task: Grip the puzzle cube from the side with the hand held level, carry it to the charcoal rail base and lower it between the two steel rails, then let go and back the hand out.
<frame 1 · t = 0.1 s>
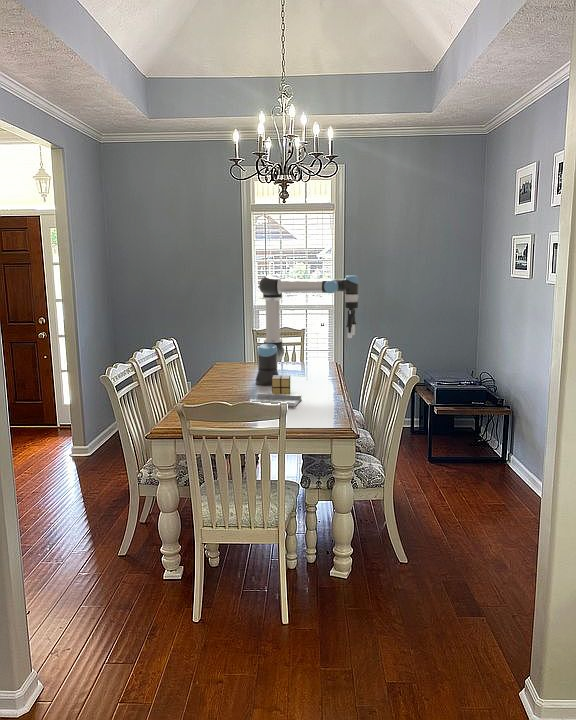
hand: (351, 336, 361), 28 cm above the table, tool pointing down, fingers open, 13 cm apart
rail base: (275, 402, 315), on the table
puzzle cube: (281, 394, 335), on the table
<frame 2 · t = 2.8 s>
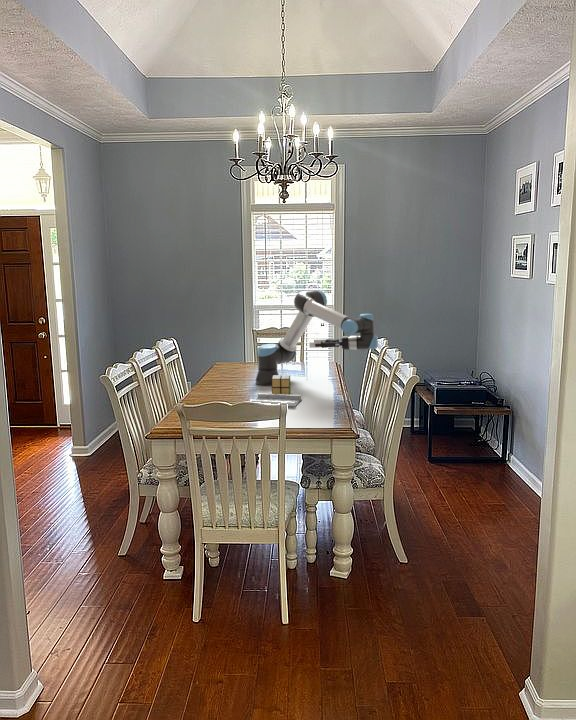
hand: (311, 343, 334), 28 cm above the table, tool horizontal, fingers open, 13 cm apart
nothing on the table moved.
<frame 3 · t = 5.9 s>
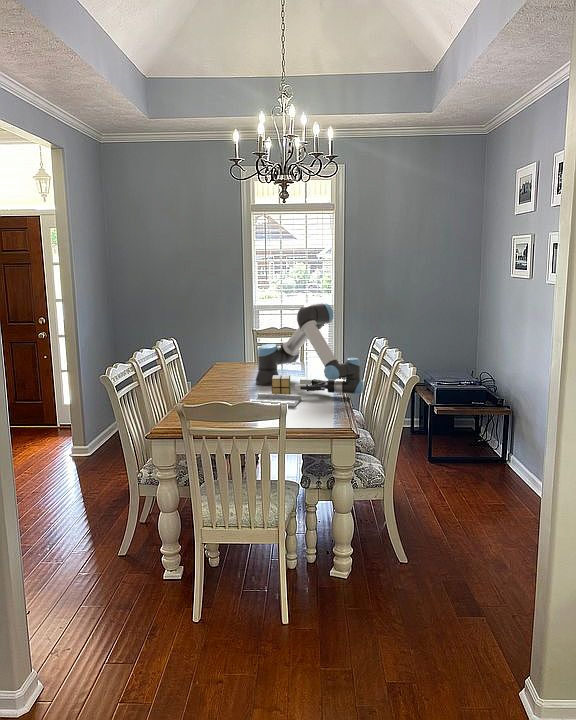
hand: (297, 384, 332), 6 cm above the table, tool horizontal, fingers open, 13 cm apart
nothing on the table moved.
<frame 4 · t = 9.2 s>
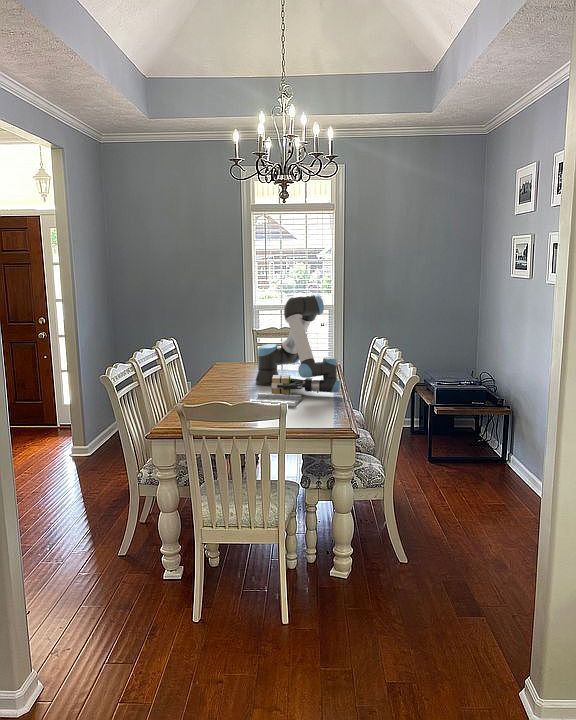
hand: (274, 383, 335), 6 cm above the table, tool horizontal, fingers closed on puzzle cube, 11 cm apart
puzzle cube: (281, 394, 335), on the table, touching gripper
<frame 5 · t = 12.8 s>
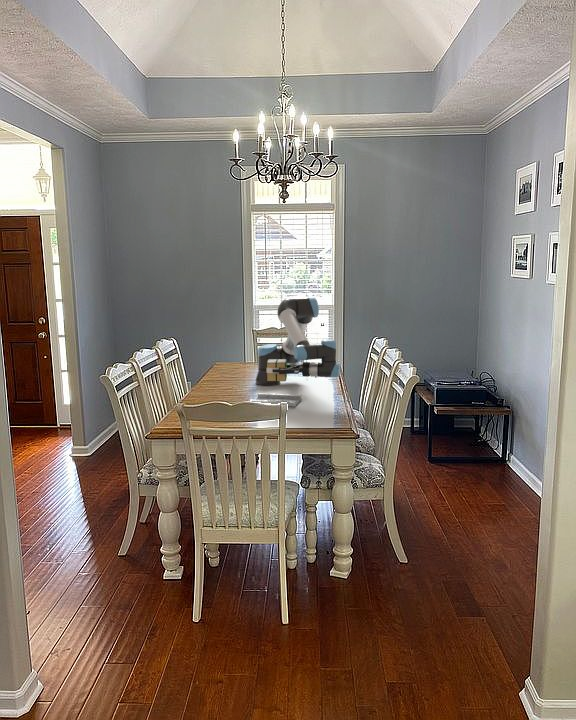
hand: (269, 368, 314), 18 cm above the table, tool horizontal, fingers closed on puzzle cube, 11 cm apart
puzzle cube: (277, 379, 314), point 12 cm above the table, touching gripper
when the fingers open (8 cm above the table, at t = 16.4 s): puzzle cube drops 2 cm, resting on rail base.
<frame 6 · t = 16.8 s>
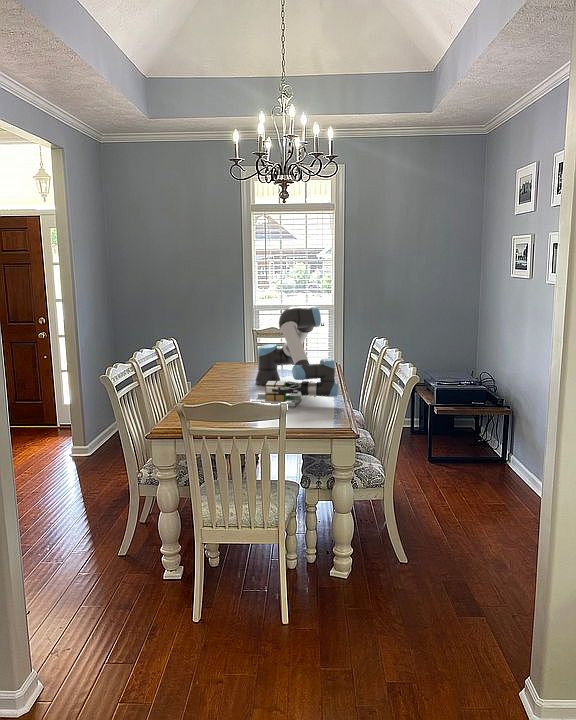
hand: (269, 386, 314), 8 cm above the table, tool horizontal, fingers open, 13 cm apart
puzzle cube: (276, 401, 315), point 1 cm above the table, touching rail base
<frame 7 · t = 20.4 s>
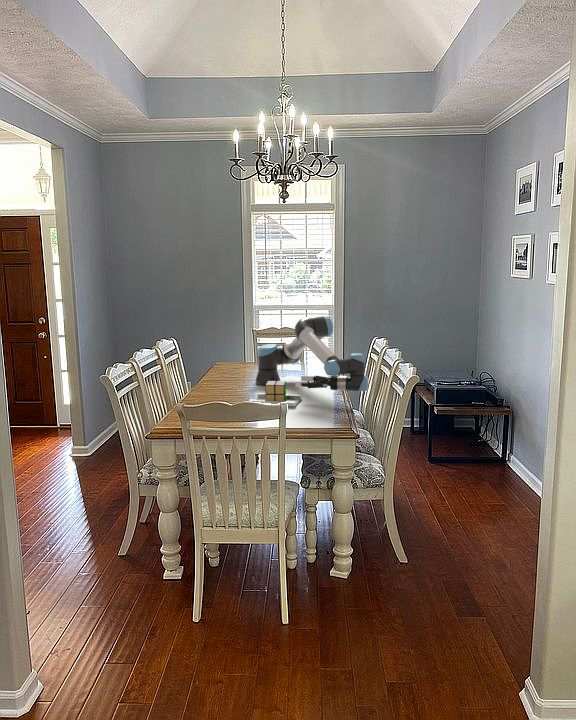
hand: (298, 381, 314), 12 cm above the table, tool horizontal, fingers open, 13 cm apart
nothing on the table moved.
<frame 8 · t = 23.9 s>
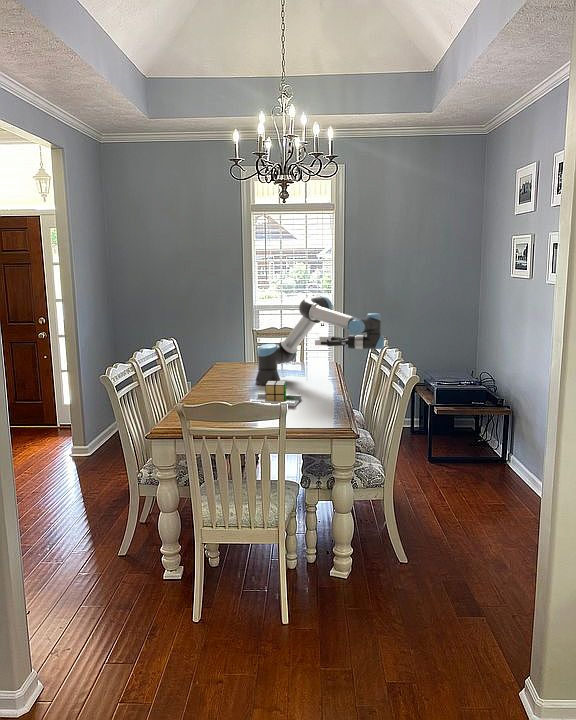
hand: (317, 340, 330), 30 cm above the table, tool horizontal, fingers open, 13 cm apart
nothing on the table moved.
at the end: puzzle cube inside the target area on the rail base (0.1 cm from its centre), point 0.6 cm above the rail base's base; puzzle cube tilted 0°; the gripper is holding nothing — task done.
